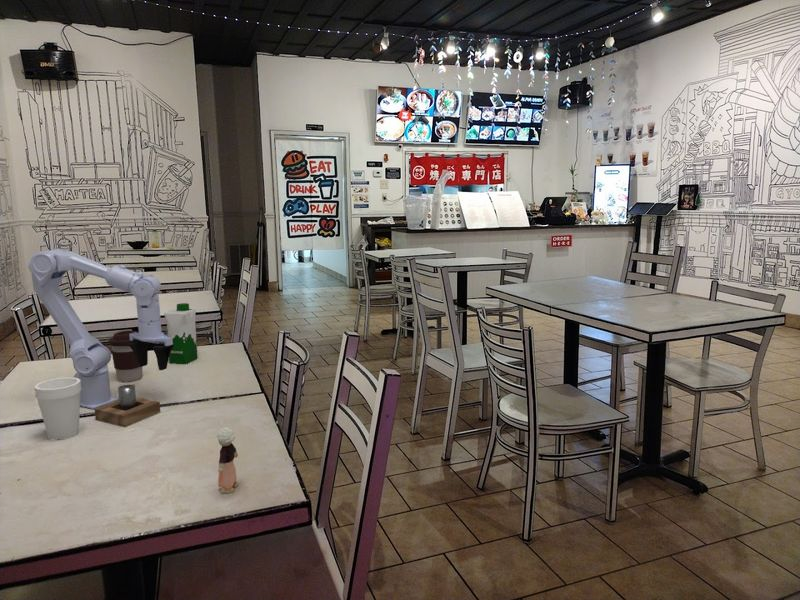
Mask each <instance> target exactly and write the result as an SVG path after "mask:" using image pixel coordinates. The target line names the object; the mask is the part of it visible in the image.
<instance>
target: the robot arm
mask: <svg viewBox="0 0 800 600" xmlns="http://www.w3.org/2000/svg"><path fill="white" fill-rule="evenodd" d="M27 268H28V270H29V271H30V272H31V279H32V285H33V286H32V288H33V290H34V292H35V293H36V295H37V296H38V298H39V300H40V302H41V303H42V305H43V306H44V307H45V309H46V310H47V312H48V314H49V315H50V316H51V318H52V320H53V321H54V323H55V324H56V326H57V327H58V329H59V330H60V331H61V333H62V335H63V337H64V338H65V339H66V341H67V342H68V344H69V345H70V348H69V356H70V358H71V360H72V366H73V369H74V370H75V372H76V373H75V374H74V375H73V378H78V379H80V380H81V391H80V407H84V408H88V409H91V410H92V409H93V410H95V409H96V408H98V407H101V406H104V405H107V404H109V403H112V402H115V401H118V400H119V397H113V396H112V395H111V387H110V386H111V384H110V374H109V367H108V365H109V363H110V362H111V360H112V359H111V358H112V352H111V351H110V349H109V348H108V347H106V346H104V345H103V343H101V342H100V340H99V339H98V338H96V337H94V336H92V335H91V334H90V332H89V331H88V329H87V328H86V327H85V325H84V323H83V322H82V320H81V319H80V317H79V316H78V314H77V313H76V311H75V309H74V308H73V307H72V305H71V304H70V302H69V300H68V299H67V297H66V296H65V294H64V292H63V290H62V289H61V287H60V284H61V281H62V279H63V276H64V275H65V274H66V273H67V272H68V271H73V270H74V271H79V272H81V273H84V274H88V275H91V276H95V277H97V278H101V279H104V280H105V283H107V285H108V286H110V287H113V288H116V289H119V290H122V291H124V292H127V293H130V294H132V295H133V296H134V298H135V301H136V313H137V314H136V315H137V325H138V326H137V327H138V331H137V332H138V333H137V332H135V333H130V334H129V335H130V340H131V341H132V343H129V346H130V348H131V349H132V350H133V352H134V354H135V356H136V358H137V361H138V363H139V366H140V367H142V368H143V367H146V366H148V363H149V361H148V360H149V357H148V355H149V354H148V352H149V351H148V350H149V345H150V344H151V343H152V344H158V345H154V346H152V350H153V352H154V354H155V357H156V362H157V363H156V364H157V368H158V371H164V370H166V369H167V367H168V365H169V364H168V363H169V356H170V353H171V351H172V349H173V347H174V344H173V340H172V338H171V337H168V335H165V332H163V331H162V320H161V310H160V309H161V308H160V306H161V305H160V299H159V298H160V297H159V293H160V291H161V288H162V284H161V281H160V280H159V279H158V278H157V277H156V276H154V275H152V274H147V275H144V273H143V272H141V271H139V272H136V271H133V270H131V269H128V268H127V266H126V265H123V264H121V265H113V266H112V267H109V266H107V265H104V264H102V263H100V262H97V261H94V260H92V259H90V258H88V257H85V256H83V255H80V254H78V253H75V252H74V251H70V250H66V249H65V248H55V249H51V250H50V249H49V250H45V251H43V250H42V251H41V250H40V251H37V252H35V253H34V254H33V255H32V256H31V257H30V260H29V263H28V265H27Z"/></svg>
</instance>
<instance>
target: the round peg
mask: <svg viewBox="0 0 800 600" xmlns="http://www.w3.org/2000/svg"><path fill="white" fill-rule="evenodd" d="M117 393H118V395H117V396H118V400H119V406H120V410H124V411H127V410H130V409H132V408H135V407H137V405H136V397H137V395H136V394H137V393H136V385H134V384H124V385H120V386H118V387H117Z"/></svg>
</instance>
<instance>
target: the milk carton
mask: <svg viewBox="0 0 800 600" xmlns="http://www.w3.org/2000/svg"><path fill="white" fill-rule="evenodd" d="M196 313H197V310H196V309H193V308H190V304H189V303H186V302H184V303H183V302H182V303H177V304H176V308H175V309H172V310H168V311H167V312H164V313H163V314H164V319H165V321H166V328H167V329H166V330H167V336H168V337H171V338H172V340H173V344H174V347H173V349H172V351H171V353H170V356H169V359H168V363H169V364H173V363H176V364H177V365H178V364H179V365H188V363H189V364H190V362H191V363H192V362H194V361H196V360H197V358H199V357H198V345H197V344H198V343H197V329H196V328H197V327H196Z"/></svg>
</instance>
